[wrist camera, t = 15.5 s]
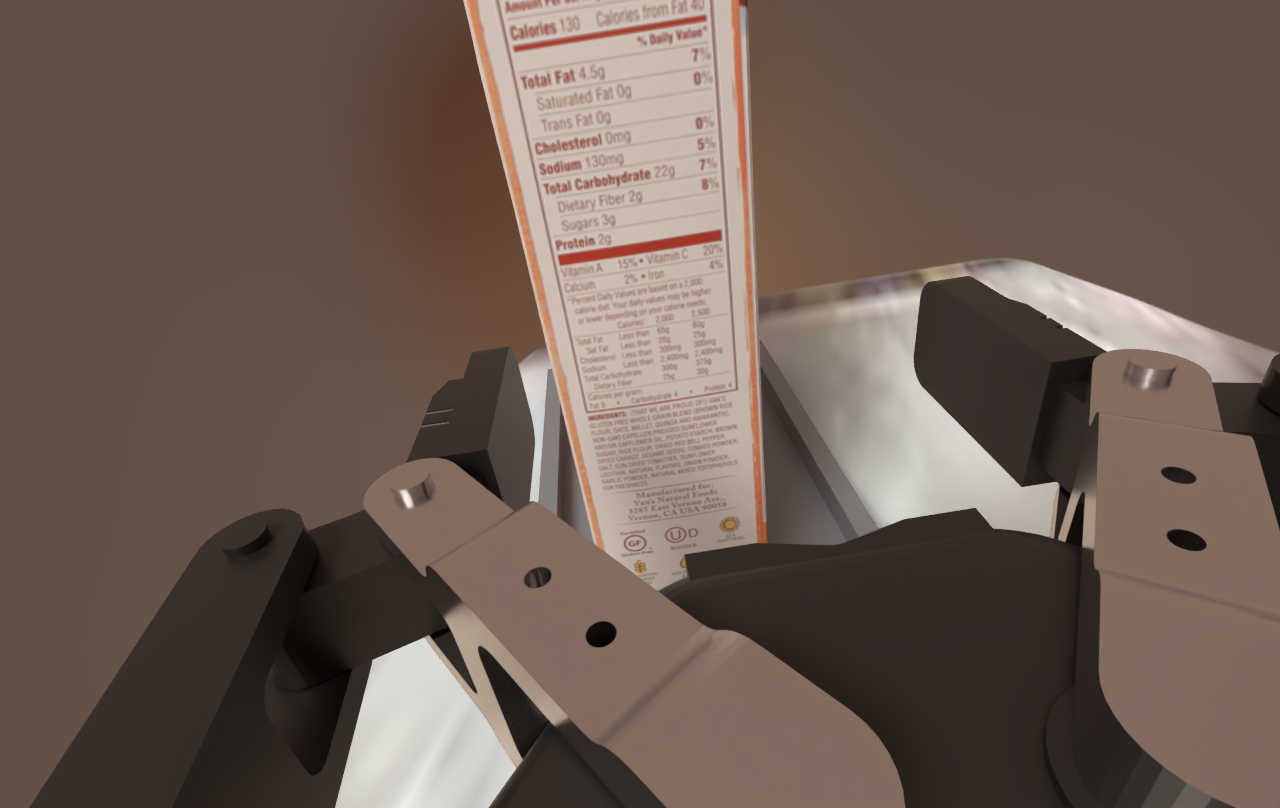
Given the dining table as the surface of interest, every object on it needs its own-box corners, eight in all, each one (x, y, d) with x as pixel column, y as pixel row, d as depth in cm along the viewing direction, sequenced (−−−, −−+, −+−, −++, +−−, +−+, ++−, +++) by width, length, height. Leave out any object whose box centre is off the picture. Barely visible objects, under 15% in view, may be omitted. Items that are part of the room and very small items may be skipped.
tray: (759, 363, 38) (758, 336, 37) (908, 623, 21) (913, 586, 20) (554, 395, 38) (547, 369, 37) (539, 683, 21) (527, 649, 20)
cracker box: (597, 421, 33) (505, -59, 23) (709, 405, 33) (669, -83, 23) (600, 638, 21) (409, -164, 11) (775, 613, 21) (758, -215, 11)
